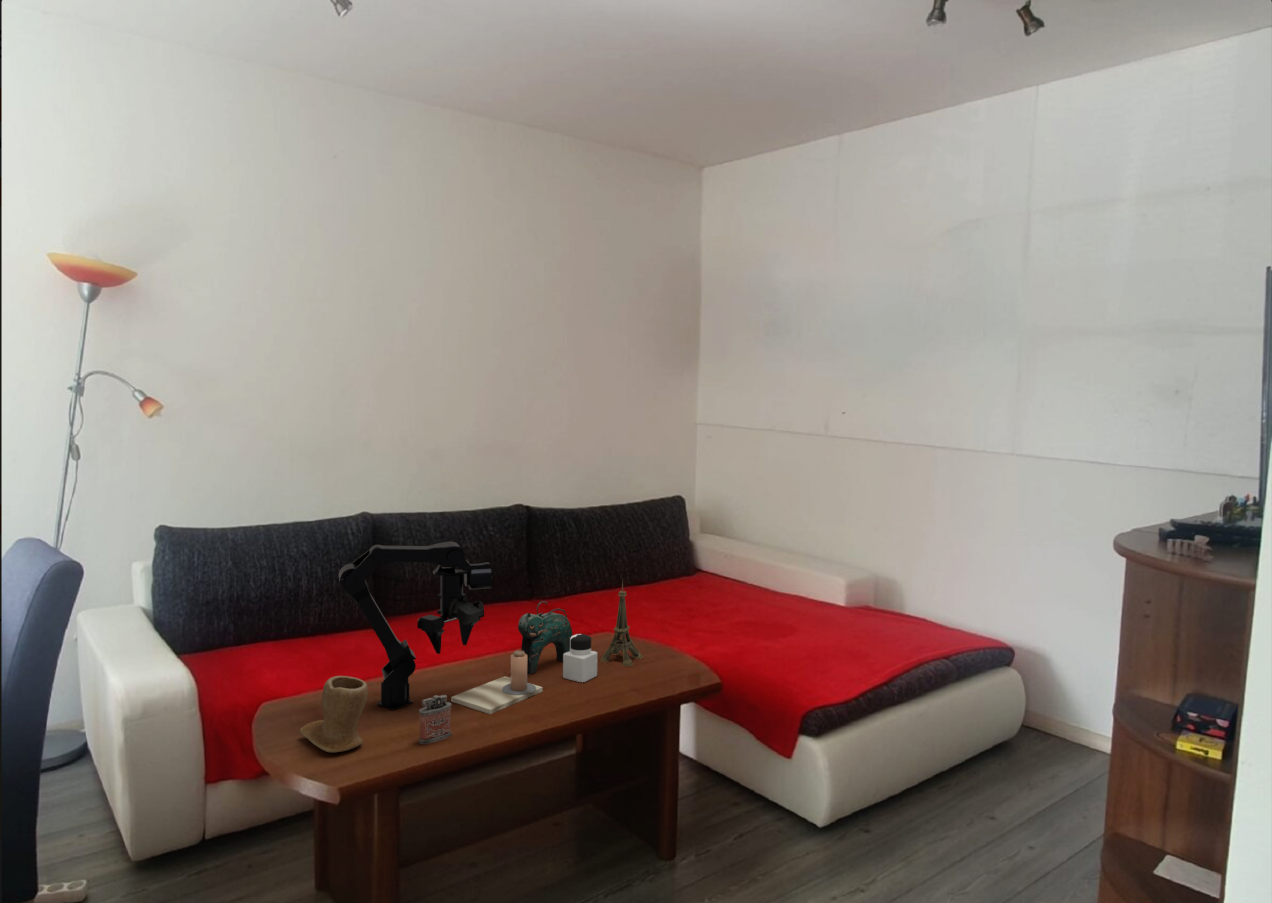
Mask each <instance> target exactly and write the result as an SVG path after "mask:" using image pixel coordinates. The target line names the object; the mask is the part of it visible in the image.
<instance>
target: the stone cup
mask: <svg viewBox="0 0 1272 903" xmlns="http://www.w3.org/2000/svg"><path fill="white" fill-rule="evenodd" d="M368 687H369V686H368V684H367V683H366V682H365V681H364V680H362V679H361V678H357V677H353V676H348V675H335V676H332V677H330V678H328V679H327V680H326V681H325V683H324V685H323V687H322V688H323V689H322V697H321V709H322V715H323V719H321V720H314V721H311V722H308V723H307V724H304V725H303V726H302V727H301V728H300V729H299V732H300V733H301V735H303V736H304V738H306V739H307V740H308V741H309V742H310V743H312V744H313V745H314V746H316V747H317V748H318V749H320V750H322V751H323V752H327V753H339V752H340V753H341V752H346V751H350V750H353V749H356V748H357V747H358V746H361V744H363V741H364V740H363V738H362V736H361V735H360V734H359V732H358V731H357V727H358V722H359V720H360V718H361V714H362V712H363V710H364V708H365V706H366V703H367V699H368V692H369V691H368V690H369V688H368Z"/></svg>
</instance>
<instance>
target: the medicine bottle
mask: <svg viewBox="0 0 1272 903" xmlns="http://www.w3.org/2000/svg"><path fill="white" fill-rule="evenodd" d="M597 676H598V652H597V651H595V650H592V637H591V636H590V635H588V634H584V633H576V634H574V635H573V636H571V638H570V651H569V652H567V653H564V654H563V662H562V677H563V679H566V680H571V681H574V682H579V683H581V682H582V683H581V684H583V682H584V683H585V682H588V681H590V680H591V679H594V678H596V677H597Z"/></svg>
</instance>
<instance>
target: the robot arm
mask: <svg viewBox="0 0 1272 903" xmlns="http://www.w3.org/2000/svg"><path fill="white" fill-rule="evenodd" d="M465 556H466V555H465V551H464V549H463V548H462V547H461V546H460V545H459V544H458V543H457V542H455V541H445V542H444V541H443V542H437V543H435V544H430V545H381V544H374V545H372V546H371V547H370V548H369V549H368V550H367V551H366V552H365V553H363V554H361V555H360V556H359V557H358V558H356V559H355V560H353V561H352V562H351V563H347V564H344V565H343V566H342V567H341V568H340V570H339V573H338V578H339V579H338V580H339V584H340V586H341V588H342V589H343V590H344V592H346V594H348V596H349V597H350V598H351V599H353V601H354V602H356V604H358V607H359V608H360V610H361V611H362V613H363V615H364V617H365V618H366V619H367V621H368V623H369V625H370V626H371V628H372V629H373V631H374V633H375V635H376V636H377V638H378V640H379V641H380V643H381V644H382V646H383V647H384V649H385V653H386V656H387V658H388V662H387V663H386V664H385V665H384V666H383V667H382V668H381V673H382V677H383V681H381V683H380V701H377V702H376V705H377V706H380V707H381V708H382V707H383V708H385V709H388V710H391V711H395V710H398V709H400V708H403V707H405V706H408V705H412V704H413V700H411V699H410V683H409V678H410V676H412V675H413V673H414V672H415V670H416V667H417V665H416V661H415V660H417V657H416V655H415V652H414V650H412V648H410V647H409V644H408V641H407V639H404V640H403V641H400V640H399V639H398V637H397V636H396V634H395V633H394V631H393V630H392V628H391V626H390V624H389V623H388V620H386V617H385V616H384V615H383V612H382V611H381V609H380V608H379V606H378V604H377V603H376V601H375V599H374V597H373V596H372V594H371V593H370V589H369V587H368V582H367V580H366V579H367V578H369V576H370V575H371V574H372V573H373V572H374V571H375V569H377V567H378V566H379V565H380V564H382V563H430V564H434V565H437V567H436V568H434V570H433V571H432V573H433V575H434V576H436V577H440V593H439V594H437V595H436V597H437V599H439V600H440V609H437V610H436V614H437V615H440V616H437V615H433V614H428V615H424V616H421V617H419V618H418V619H417V623H416V624H417V626H416V628H417V629H420V630H421V632H424V633H425V634H426V635H427V637H428V639H429V641H430V643H431V644H432V647H433V649H434V651H435V653H436V654H437V655H440V654H441V651H442V636H443V635H442V634H444V632H446V630H445V629H444V627H445V623H449V622H452V621H456V620H458V625H459V631H460V638H461V642H462V643H461V644H462V645H463V646H467V645H468V641H469V638H470V636H471V633H472V631H473V628H474V626H475V625H476V624H477V623H478V622H479V621H481V620H482V618H485V609H484V602H482V600H477V601H474V602H473V601H472V602H469V601H468V596H467V594H466V593H464V586H465V587H468V589H469V591H471V590H483V589H486V590H487V589H492V588H493V582H494V577H493V574H492V568H491V565H492V564H491V563H490V562H482V563H470V561H468V559H466V557H465ZM456 568H458V569H456Z"/></svg>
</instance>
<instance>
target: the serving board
mask: <svg viewBox="0 0 1272 903" xmlns="http://www.w3.org/2000/svg"><path fill="white" fill-rule="evenodd" d="M543 688H544V687H543V686H540V685H536V684H533V683H529V682H527V689H526V690H524V691H512V690H511V677H510V676H509V677H508V676H505V675H504V676H501V677H499V678H496V679H494V680H491V681H489V682H487V683H486V682H485V683H483V684H481V685H478V686H476V687H473V688H470V689H468V690H466V691H463V692H460V693H458V694H455V695H453V696H451V697H450V701H451V702H450V703H455V704H457V705H460V706H464V707H467V708H469V709H472V710H475V711H476V710H477V711H479V712H483V713H485V714H488V715H492V714H494V713H497V712H498V711H499V712H500V711H501V710H504V709H505V708H508V707H510V706H513V705H514V704H517V703H520V702H522V701H524V700H526V699H528V697H529V698H531V697H533V696H535V695H538V694H540V693H543Z"/></svg>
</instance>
